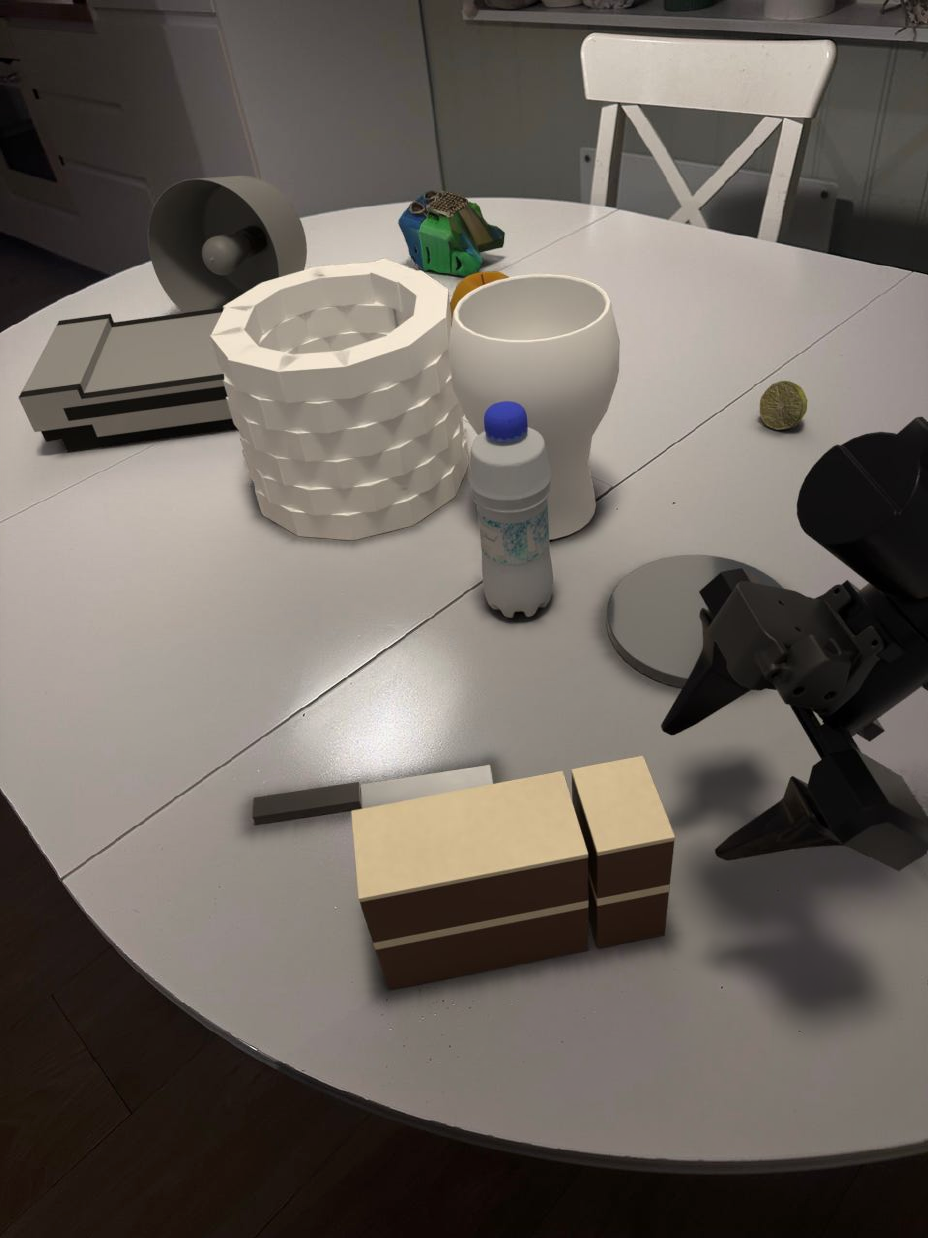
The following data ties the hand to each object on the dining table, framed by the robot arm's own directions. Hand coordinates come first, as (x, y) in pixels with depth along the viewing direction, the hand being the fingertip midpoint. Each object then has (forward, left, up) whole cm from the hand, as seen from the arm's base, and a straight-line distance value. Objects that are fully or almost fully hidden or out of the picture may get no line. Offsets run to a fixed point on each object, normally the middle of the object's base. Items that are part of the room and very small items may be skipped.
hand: (691, 790), depth 54 cm
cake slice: (+4, +2, -11) cm, 12 cm away
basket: (+45, -39, -11) cm, 60 cm away
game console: (+76, -48, -11) cm, 90 cm away
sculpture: (+58, -94, -11) cm, 111 cm away
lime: (+4, -60, -11) cm, 61 cm away
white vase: (+24, -38, -11) cm, 46 cm away
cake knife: (+23, 0, -11) cm, 25 cm away
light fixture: (+86, -79, -11) cm, 117 cm away
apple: (+41, -66, -11) cm, 78 cm away
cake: (+11, +7, -11) cm, 17 cm away
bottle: (+21, -24, -11) cm, 33 cm away
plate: (+5, -26, -11) cm, 28 cm away
